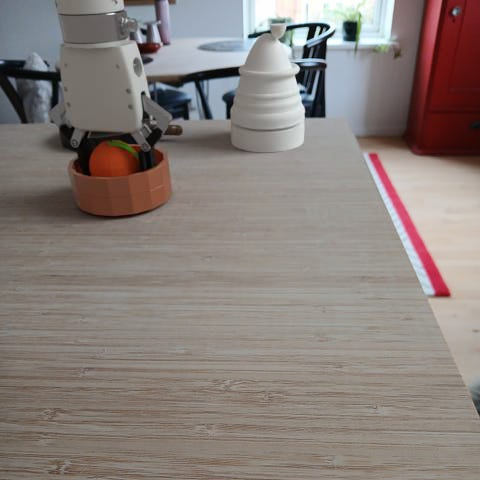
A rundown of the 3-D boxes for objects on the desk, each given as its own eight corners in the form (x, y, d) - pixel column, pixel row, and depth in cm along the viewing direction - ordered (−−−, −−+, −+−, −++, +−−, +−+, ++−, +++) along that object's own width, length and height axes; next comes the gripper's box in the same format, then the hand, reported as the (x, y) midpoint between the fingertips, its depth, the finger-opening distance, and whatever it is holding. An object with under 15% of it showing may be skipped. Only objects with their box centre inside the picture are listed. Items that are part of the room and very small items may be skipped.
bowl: (59, 215, 68) (49, 175, 65) (102, 178, 79) (95, 142, 75) (152, 222, 66) (146, 181, 62) (184, 183, 76) (180, 146, 73)
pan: (45, 150, 91) (41, 134, 89) (87, 123, 103) (84, 109, 102) (168, 155, 86) (166, 139, 84) (196, 127, 99) (195, 112, 97)
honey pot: (316, 135, 92) (322, 20, 81) (280, 157, 84) (282, 31, 73) (255, 126, 98) (254, 17, 87) (216, 145, 90) (209, 27, 79)
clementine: (160, 186, 73) (154, 136, 68) (131, 205, 68) (122, 152, 64) (115, 178, 76) (106, 129, 71) (84, 196, 71) (72, 144, 66)
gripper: (175, 25, 61) (188, 169, 71) (44, 25, 64) (75, 162, 75) (153, 35, 55) (170, 190, 66) (10, 34, 59) (48, 181, 69)
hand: (119, 174), depth 70 cm, fingers closed on clementine, 8 cm apart
